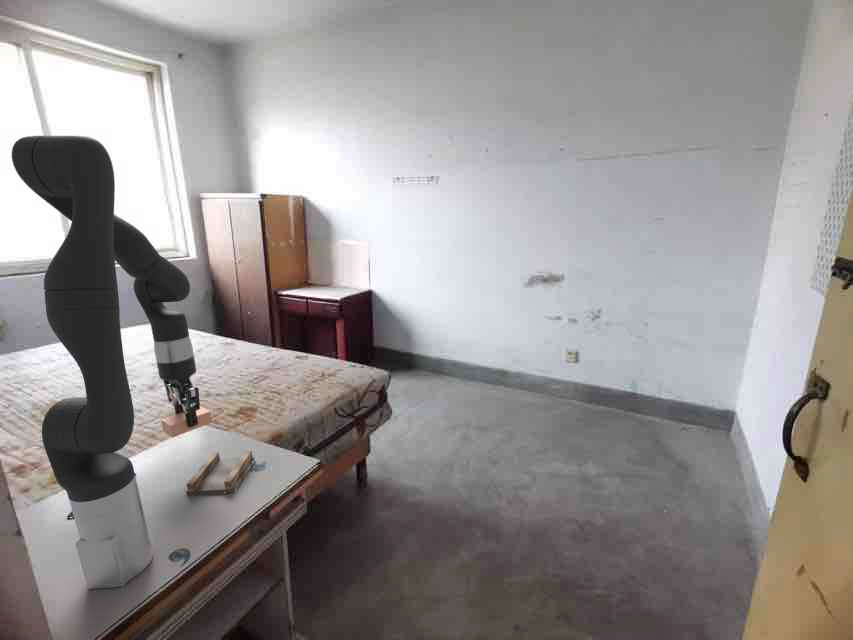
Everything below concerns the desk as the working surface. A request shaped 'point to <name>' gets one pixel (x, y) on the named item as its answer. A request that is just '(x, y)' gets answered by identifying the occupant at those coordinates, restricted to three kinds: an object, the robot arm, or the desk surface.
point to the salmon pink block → (184, 422)
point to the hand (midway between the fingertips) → (187, 422)
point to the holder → (219, 474)
